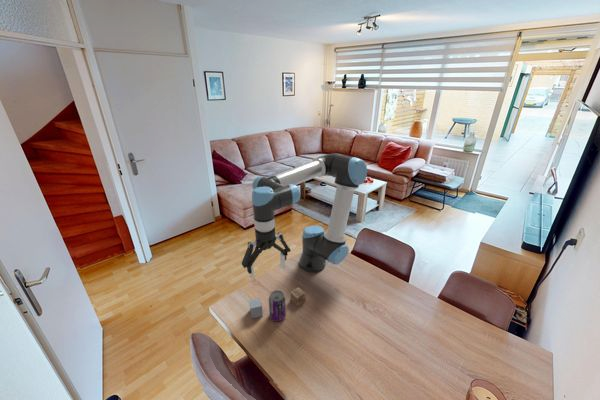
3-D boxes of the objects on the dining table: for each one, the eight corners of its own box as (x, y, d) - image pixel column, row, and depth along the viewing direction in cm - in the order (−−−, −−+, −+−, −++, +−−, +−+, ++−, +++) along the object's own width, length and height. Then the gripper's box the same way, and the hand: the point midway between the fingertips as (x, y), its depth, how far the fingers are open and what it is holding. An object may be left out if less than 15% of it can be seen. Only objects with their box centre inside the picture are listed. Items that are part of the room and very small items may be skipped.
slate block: (261, 307, 118) (260, 297, 116) (262, 315, 114) (262, 305, 111) (250, 310, 117) (249, 300, 114) (251, 318, 113) (250, 308, 110)
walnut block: (298, 295, 125) (298, 287, 123) (305, 300, 122) (305, 292, 120) (290, 300, 122) (290, 292, 120) (297, 306, 119) (297, 298, 117)
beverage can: (285, 322, 110) (284, 302, 106) (268, 322, 111) (267, 301, 106) (286, 309, 117) (285, 289, 112) (270, 309, 117) (269, 289, 112)
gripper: (289, 215, 105) (290, 257, 113) (229, 232, 93) (235, 278, 102) (298, 223, 99) (298, 267, 107) (235, 242, 87) (242, 289, 96)
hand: (268, 272), depth 105 cm, fingers open, 13 cm apart
